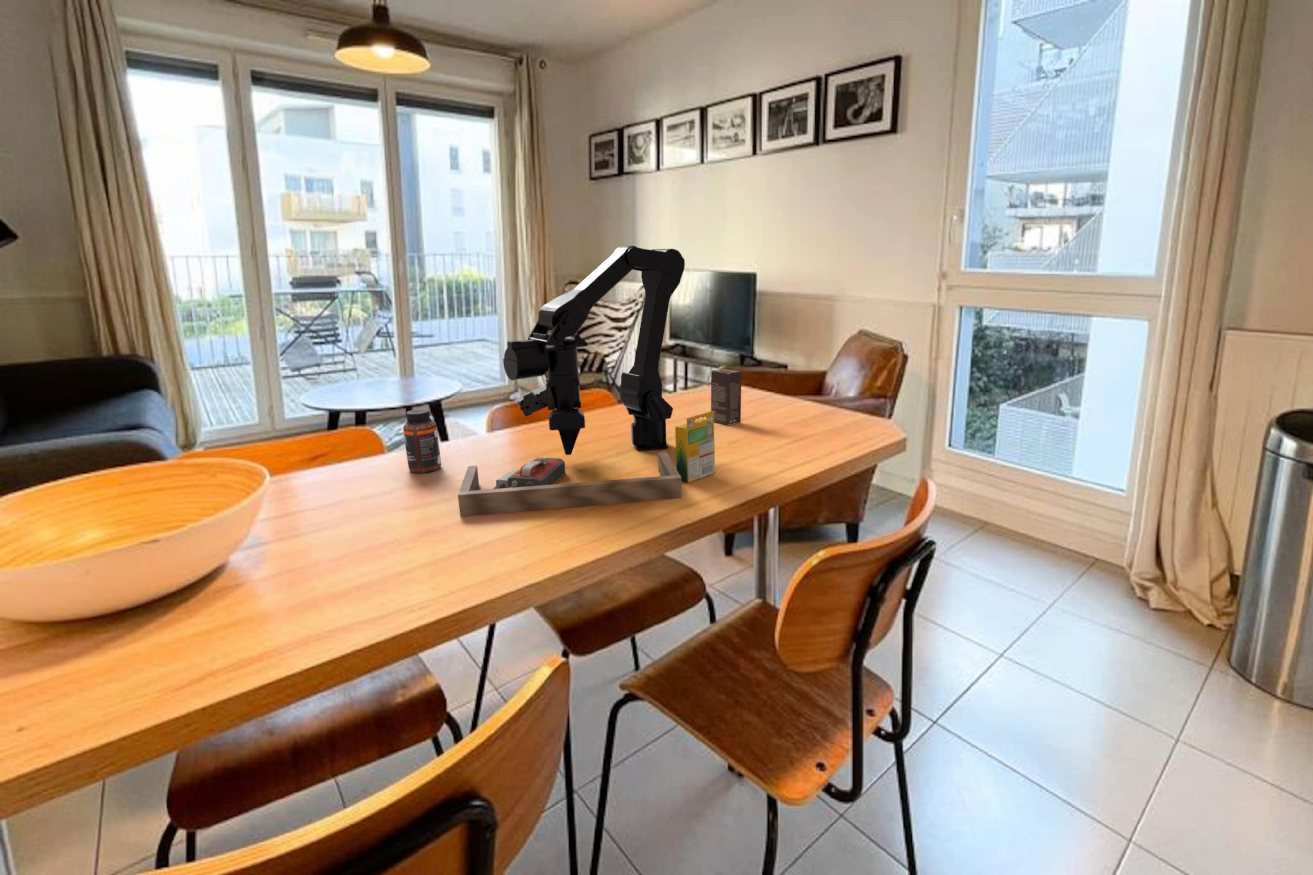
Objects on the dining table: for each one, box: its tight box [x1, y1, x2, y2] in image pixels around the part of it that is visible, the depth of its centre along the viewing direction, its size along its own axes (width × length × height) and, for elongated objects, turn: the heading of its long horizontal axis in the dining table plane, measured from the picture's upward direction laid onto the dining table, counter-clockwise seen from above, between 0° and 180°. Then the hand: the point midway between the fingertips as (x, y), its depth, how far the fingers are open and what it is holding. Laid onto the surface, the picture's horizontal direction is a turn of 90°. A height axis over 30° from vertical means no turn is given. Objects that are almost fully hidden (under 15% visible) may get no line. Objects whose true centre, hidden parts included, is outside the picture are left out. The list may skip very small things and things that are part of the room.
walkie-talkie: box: [492, 457, 566, 489], centre depth 115 cm, size 9×4×20 cm
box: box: [710, 368, 742, 426], centre depth 154 cm, size 6×4×12 cm
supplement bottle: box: [402, 408, 442, 474], centre depth 126 cm, size 6×6×11 cm
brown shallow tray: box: [457, 451, 683, 517], centre depth 113 cm, size 35×14×4 cm, turn 99°
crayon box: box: [674, 410, 716, 484], centre depth 117 cm, size 7×3×12 cm, turn 134°
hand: (568, 454), depth 127 cm, fingers closed
